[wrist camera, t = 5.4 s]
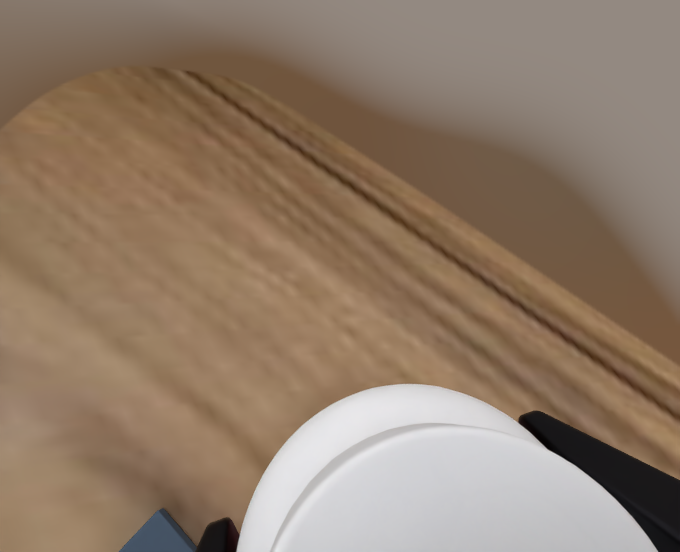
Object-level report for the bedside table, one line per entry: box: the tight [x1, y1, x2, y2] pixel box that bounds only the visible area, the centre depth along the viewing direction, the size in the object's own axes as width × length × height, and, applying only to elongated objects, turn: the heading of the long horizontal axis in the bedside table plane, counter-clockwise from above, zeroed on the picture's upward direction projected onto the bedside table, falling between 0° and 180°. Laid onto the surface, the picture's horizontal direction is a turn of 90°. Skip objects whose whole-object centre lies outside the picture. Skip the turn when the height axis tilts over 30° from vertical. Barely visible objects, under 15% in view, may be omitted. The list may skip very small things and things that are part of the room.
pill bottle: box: [236, 384, 658, 552], centre depth 9 cm, size 6×6×11 cm
